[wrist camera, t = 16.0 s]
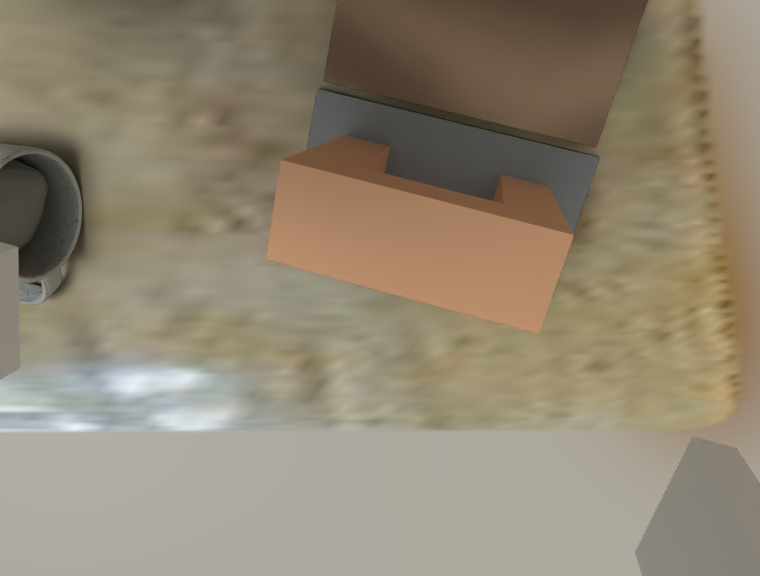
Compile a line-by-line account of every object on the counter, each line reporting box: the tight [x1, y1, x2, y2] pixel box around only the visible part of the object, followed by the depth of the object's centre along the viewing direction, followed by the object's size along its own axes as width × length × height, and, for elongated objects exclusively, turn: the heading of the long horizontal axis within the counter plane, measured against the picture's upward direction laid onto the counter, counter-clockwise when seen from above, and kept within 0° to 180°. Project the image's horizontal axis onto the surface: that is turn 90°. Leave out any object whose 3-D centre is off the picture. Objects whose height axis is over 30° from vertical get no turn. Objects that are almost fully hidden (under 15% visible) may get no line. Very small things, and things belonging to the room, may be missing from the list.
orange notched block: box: [266, 135, 574, 334], centre depth 27 cm, size 11×4×10 cm, turn 77°
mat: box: [307, 89, 599, 232], centre depth 32 cm, size 8×15×1 cm, turn 77°
